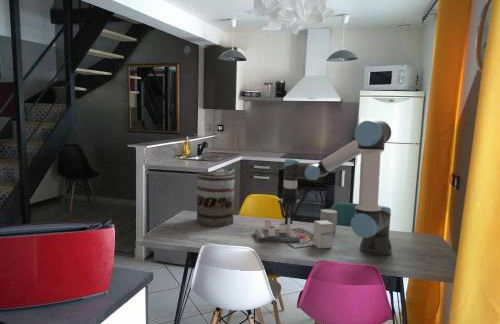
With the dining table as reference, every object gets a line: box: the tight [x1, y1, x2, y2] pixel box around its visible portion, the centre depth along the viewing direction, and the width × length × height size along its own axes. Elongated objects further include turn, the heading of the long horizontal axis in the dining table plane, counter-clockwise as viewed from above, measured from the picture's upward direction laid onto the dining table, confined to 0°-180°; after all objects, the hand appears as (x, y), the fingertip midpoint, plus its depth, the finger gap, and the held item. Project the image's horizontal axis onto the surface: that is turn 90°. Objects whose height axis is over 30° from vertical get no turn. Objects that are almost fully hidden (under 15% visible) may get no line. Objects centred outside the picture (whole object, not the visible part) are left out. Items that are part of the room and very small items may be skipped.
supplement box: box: [312, 220, 333, 249], centre depth 187 cm, size 7×7×13 cm
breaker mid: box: [278, 222, 286, 233], centre depth 199 cm, size 3×3×5 cm
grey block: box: [319, 208, 338, 235], centre depth 213 cm, size 10×10×12 cm
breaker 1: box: [263, 220, 272, 230], centre depth 203 cm, size 3×3×5 cm
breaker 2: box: [268, 225, 276, 236], centre depth 192 cm, size 3×3×5 cm
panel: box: [254, 228, 301, 243], centre depth 199 cm, size 15×22×3 cm
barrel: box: [196, 171, 236, 228], centre depth 225 cm, size 22×22×30 cm
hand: (288, 230), depth 199 cm, fingers closed
